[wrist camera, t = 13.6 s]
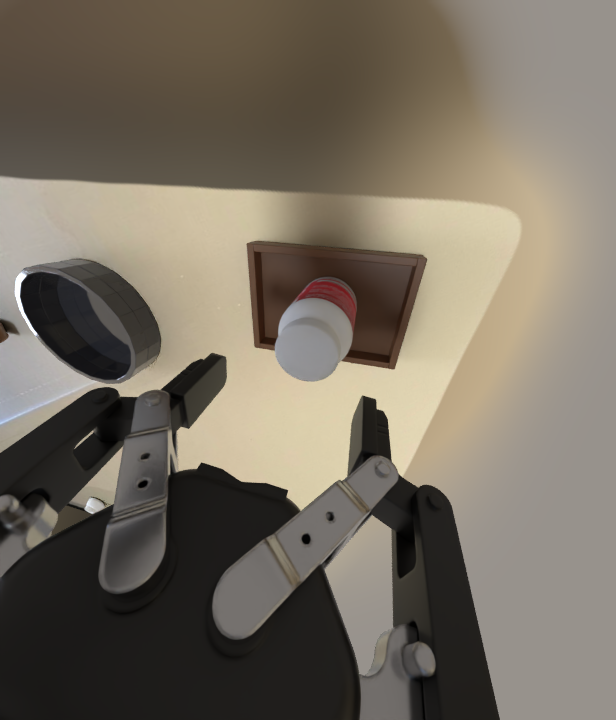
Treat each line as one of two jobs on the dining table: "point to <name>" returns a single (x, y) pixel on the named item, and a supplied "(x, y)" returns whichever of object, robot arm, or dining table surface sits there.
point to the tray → (354, 267)
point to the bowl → (89, 319)
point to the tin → (2, 333)
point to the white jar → (94, 505)
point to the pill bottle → (317, 329)
